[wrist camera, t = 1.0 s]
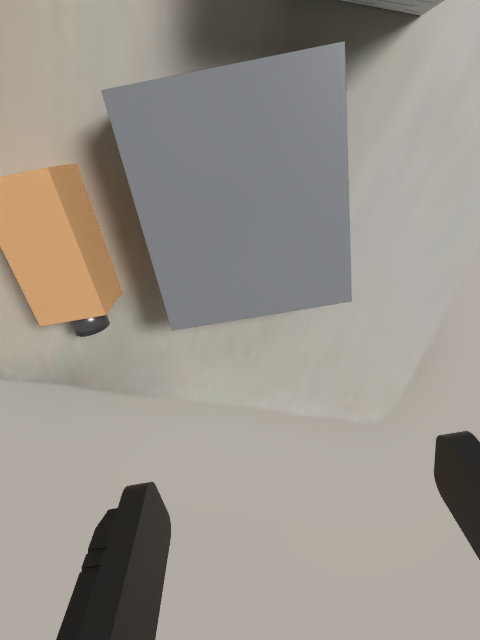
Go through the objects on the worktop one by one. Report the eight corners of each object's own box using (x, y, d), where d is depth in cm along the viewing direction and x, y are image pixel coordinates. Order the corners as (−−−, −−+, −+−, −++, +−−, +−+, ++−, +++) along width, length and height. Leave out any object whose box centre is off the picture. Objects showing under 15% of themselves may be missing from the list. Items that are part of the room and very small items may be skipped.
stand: (128, 101, 26) (101, 90, 20) (320, 63, 25) (344, 41, 19) (181, 299, 33) (171, 330, 27) (331, 274, 32) (351, 301, 27)
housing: (11, 176, 28) (-31, 183, 23) (77, 163, 28) (47, 167, 23) (74, 320, 34) (50, 347, 29) (129, 310, 33) (114, 336, 29)
